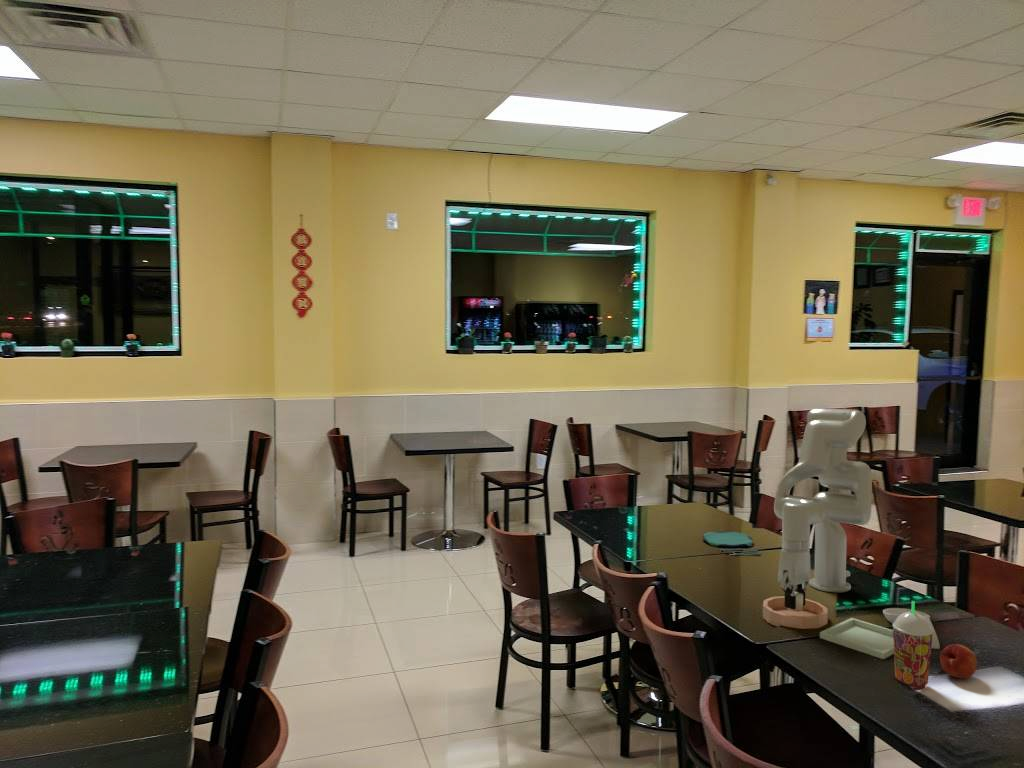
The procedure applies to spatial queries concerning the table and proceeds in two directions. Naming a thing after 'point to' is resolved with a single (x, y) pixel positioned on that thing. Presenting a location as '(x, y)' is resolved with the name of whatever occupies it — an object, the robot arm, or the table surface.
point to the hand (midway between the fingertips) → (794, 605)
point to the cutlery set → (730, 541)
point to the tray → (861, 637)
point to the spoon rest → (893, 613)
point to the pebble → (798, 602)
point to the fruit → (958, 661)
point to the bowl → (794, 614)
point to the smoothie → (912, 648)
